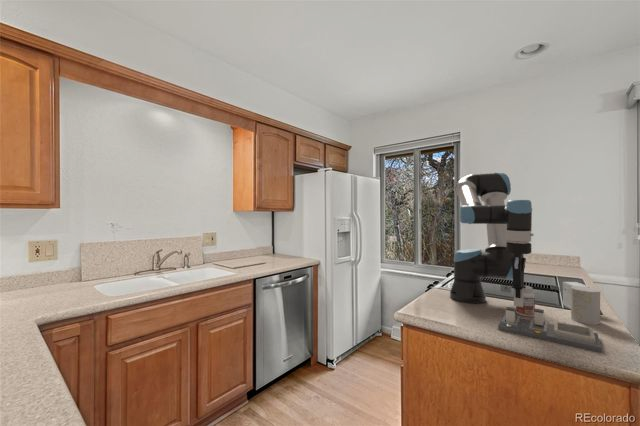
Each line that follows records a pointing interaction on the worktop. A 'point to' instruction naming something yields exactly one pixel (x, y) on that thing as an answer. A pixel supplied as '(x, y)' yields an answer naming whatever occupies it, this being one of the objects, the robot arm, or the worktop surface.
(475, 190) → the robot arm
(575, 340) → the panel
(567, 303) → the small box
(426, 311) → the worktop surface
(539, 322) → the toggle
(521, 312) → the pill bottle
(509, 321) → the toggle
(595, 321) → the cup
